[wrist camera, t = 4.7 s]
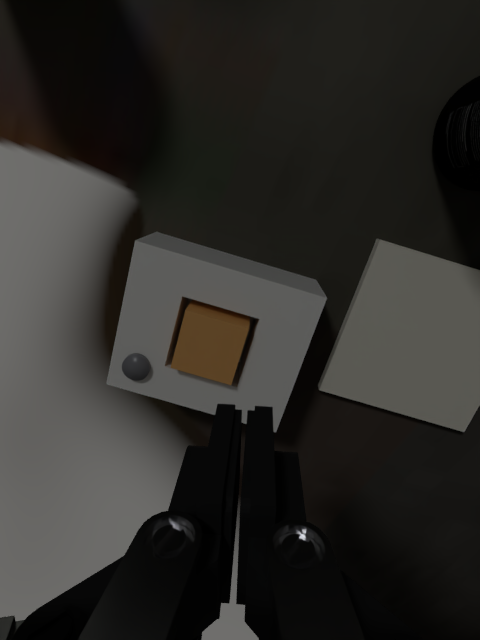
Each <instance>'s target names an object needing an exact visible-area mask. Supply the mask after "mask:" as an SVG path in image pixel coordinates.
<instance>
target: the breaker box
mask: <svg viewBox="0 0 480 640" xmlns="http://www.w3.org/2000/svg"><path fill="white" fill-rule="evenodd" d="M192 299H193V300H197V301H200V302H203V303H207V304H210V305H214V306H217V307H220V308H224V309H227V310H230V311H234V312H237V313H241V314H244V315H247V316H250V325H249V331H248V334H247V337H246V340H245V343H244V346H243V350H242V353H241V356H240V359H239V362H238V365H237V368H236V371H235V375H234V378H233V381H232V384H231V385H228V384H225V383H221V382H218V381H214V380H211V379H208V378H204V377H201V376H197V375H194V374H190V373H187V372H183V371H180V370H176V369H173V368H171V364H172V360H173V356H174V352H175V348H176V345H177V341H178V337H179V333H180V329H181V325H182V321H183V318H184V314H185V310H186V308H187V307H188V305H189V304H190V302H191V301H192ZM326 299H327V297H326V296H325V294H324V292H323V290H322V289H321V287H320V285H319V284H318V282H317V280H315V279H311V278H308V277H305V276H302V275H298V274H295V273H292V272H288V271H285V270H282V269H278V268H275V267H272V266H268V265H265V264H262V263H258V262H255V261H252V260H248V259H245V258H242V257H238V256H235V255H232V254H229V253H225V252H222V251H219V250H215V249H212V248H209V247H205V246H202V245H199V244H195V243H192V242H189V241H185V240H182V239H179V238H175V237H172V236H169V235H166V234H162V233H159V232H155V233H153V234H150V235H148V236H145V237H143V238H140V239H138V240H136V241H135V244H134V250H133V254H132V259H131V264H130V269H129V274H128V279H127V284H126V289H125V294H124V299H123V304H122V309H121V314H120V319H119V324H118V329H117V334H116V338H115V343H114V349H113V353H112V359H111V363H110V368H109V373H108V378H107V383H106V384H107V385H111V386H114V387H118V388H121V389H125V390H128V391H132V392H135V393H139V394H142V395H146V396H149V397H153V398H157V399H160V400H164V401H167V402H171V403H174V404H178V405H181V406H185V407H188V408H192V409H195V410H199V411H202V412H206V413H209V414H213V415H215V413H216V408H217V404H234V405H235V409H238V410H242V423H244V424H247V412H248V410H254V411H255V406H268V407H273V432H276V431H277V428H278V426H279V423H280V421H281V418H282V415H283V413H284V410H285V407H286V405H287V402H288V399H289V397H290V394H291V392H292V389H293V386H294V384H295V381H296V378H297V376H298V373H299V370H300V368H301V365H302V363H303V360H304V357H305V355H306V352H307V349H308V347H309V344H310V341H311V339H312V336H313V334H314V331H315V328H316V326H317V323H318V320H319V318H320V315H321V312H322V310H323V307H324V305H325V302H326Z"/></svg>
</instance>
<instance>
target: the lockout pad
mask: <svg viewBox="0 0 480 640" xmlns="http://www.w3.org/2000/svg"><path fill="white" fill-rule="evenodd" d="M318 388H319V390H320V391H324V392H327V393H331V394H334V395H338V396H341V397H344V398H348V399H351V400H355V401H358V402H362V403H365V404H369V405H372V406H375V407H379V408H382V409H386V410H389V411H393V412H396V413H400V414H403V415H407V416H410V417H413V418H417V419H420V420H424V421H427V422H431V423H434V424H438V425H441V426H444V427H448V428H451V429H455V430H458V431H462V432H465V430H466V428H467V426H468V425H469V423H470V421H471V419H472V417H473V416H474V414H475V412H476V410H477V409H478V407H479V405H480V270H478V269H474V268H471V267H468V266H465V265H461V264H458V263H455V262H452V261H448V260H445V259H442V258H439V257H435V256H432V255H429V254H426V253H422V252H419V251H416V250H413V249H409V248H406V247H403V246H400V245H396V244H393V243H390V242H387V241H383V240H380V239H376V242H375V244H374V247H373V249H372V252H371V254H370V257H369V259H368V262H367V264H366V267H365V269H364V272H363V274H362V277H361V279H360V282H359V284H358V287H357V289H356V292H355V294H354V297H353V299H352V302H351V304H350V306H349V309H348V311H347V314H346V316H345V319H344V321H343V324H342V326H341V329H340V331H339V334H338V336H337V339H336V341H335V344H334V346H333V349H332V351H331V354H330V356H329V359H328V361H327V364H326V366H325V369H324V371H323V374H322V376H321V379H320V381H319V384H318Z"/></svg>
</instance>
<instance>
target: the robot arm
mask: <svg viewBox="0 0 480 640" xmlns="http://www.w3.org/2000/svg"><path fill="white" fill-rule="evenodd" d="M241 425H242V410H238V409H235V405H234V404H217V408H216V413H215V418H214V422H213V427H212V431H211V436H210V441H209V445H208V447H204V446H188V447H187V449H186V452H185V456H184V459H183V463H182V466H181V469H180V473H179V476H178V479H177V483H176V486H175V489H174V493H173V496H172V499H171V503H170V506H169V509H168V511H166V512H161V513H159V514H156V515H154V516H152V517H151V518H150V519H148V520H147V521H145V522H144V523H143V525H142V526H141V528H140V529H139V530H138V532H137V534H136V536H135V537H134V539H133V541H132V543H131V545H130V546H129V549H128V550H127V552H126V554H125V555H124V556H123V557H121V558H120V559H118V560H117V561H115V562H113V563H112V564H110V565H108V566H107V567H105V568H103V569H102V570H100V571H99V572H97V573H95V574H94V575H92V576H90V577H89V578H87V579H85V580H84V581H82V582H81V583H79V584H77V585H76V586H74V587H72V588H71V589H69V590H68V591H66V592H64V593H62V594H61V595H59V596H58V597H56V598H54V599H53V600H51V601H49V602H48V603H46V604H44V605H43V606H41V607H40V608H38V609H37V610H36V611H34V612H33V613H32V614H31V615H29V616H28V617H27V618H26V619H25V620H22V621H15V617H14V616H9V617H2V618H0V640H201V638H202V631H204V630H205V629H206V628H207V627H208V626H209V625H211V624H212V623H213V622H214V621H215V620H216V619H219V616H220V606H221V603H229V600H230V590H231V577H232V565H233V554H234V542H235V530H236V518H237V507H238V506H237V505H238V495H239V477H240V451H241ZM236 604H243V605H245V622H246V624H247V625H248V626H249V627H250V628H251V630H252V631H253V632H254V633H255V634H256V635H257V637H258V638H259V640H423V639H422V638H421V637H420V636H419V635H418V634H416V633H415V632H414V631H413V630H412V629H410V628H409V627H408V626H407V625H406V624H404V623H403V622H402V621H401V620H400V619H398V618H397V617H396V616H395V615H394V614H392V613H391V612H390V611H389V610H388V609H386V608H385V607H384V606H383V605H382V604H380V603H379V602H378V601H377V600H376V599H374V598H373V597H372V596H371V595H370V594H368V593H367V592H366V591H365V590H364V589H363V588H361V587H360V586H359V585H358V584H357V583H355V582H354V581H353V580H352V579H351V578H349V577H348V576H347V575H346V574H345V573H343V572H342V571H341V570H340V568H339V565H338V563H337V560H336V557H335V554H334V551H333V549H332V546H331V543H330V541H329V540H328V538H327V536H326V535H325V534H324V533H323V531H322V530H321V529H320V528H318V527H317V526H315V525H313V524H312V523H310V522H306V514H305V506H304V498H303V490H302V482H301V475H300V467H299V459H298V453H297V452H282V451H274V432H273V407H268V406H255V411H254V410H248V412H247V425H246V438H245V451H244V464H243V478H242V492H241V506H240V528H239V554H238V578H237V603H236Z"/></svg>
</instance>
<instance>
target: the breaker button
mask: <svg viewBox="0 0 480 640" xmlns="http://www.w3.org/2000/svg"><path fill="white" fill-rule="evenodd" d="M249 325H250V316H247V315H244V314H241V313H237V312H234V311H230V310H227V309H224V308H220V307H217V306H214V305H210V304H207V303H203V302H200V301H197V300H193V299H192V301H191V302H190V304H189V305H188V307H187V308H186V310H185V314H184V318H183V321H182V325H181V329H180V333H179V337H178V341H177V345H176V348H175V352H174V356H173V360H172V364H171V368H173V369H176V370H180V371H183V372H187V373H190V374H194V375H197V376H201V377H204V378H208V379H211V380H214V381H218V382H221V383H225V384H228V385H231V384H232V381H233V378H234V375H235V371H236V368H237V365H238V362H239V359H240V356H241V353H242V350H243V346H244V343H245V340H246V337H247V334H248V331H249Z"/></svg>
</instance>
